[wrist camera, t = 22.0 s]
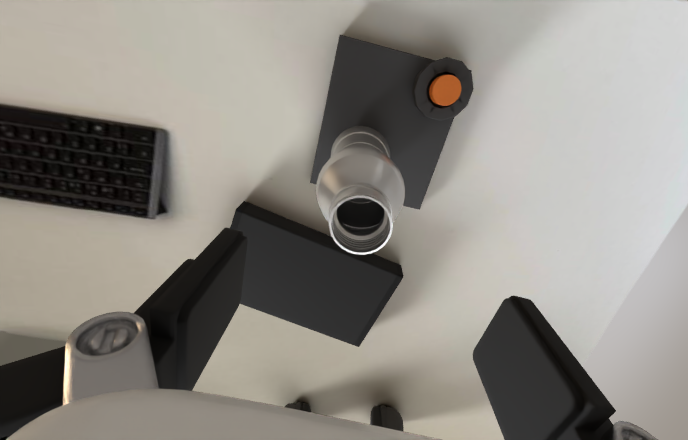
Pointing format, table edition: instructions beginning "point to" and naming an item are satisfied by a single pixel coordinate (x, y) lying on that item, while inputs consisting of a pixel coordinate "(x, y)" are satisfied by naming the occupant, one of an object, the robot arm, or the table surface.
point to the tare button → (445, 90)
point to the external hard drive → (311, 276)
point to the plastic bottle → (360, 191)
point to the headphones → (379, 415)
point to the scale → (391, 108)
